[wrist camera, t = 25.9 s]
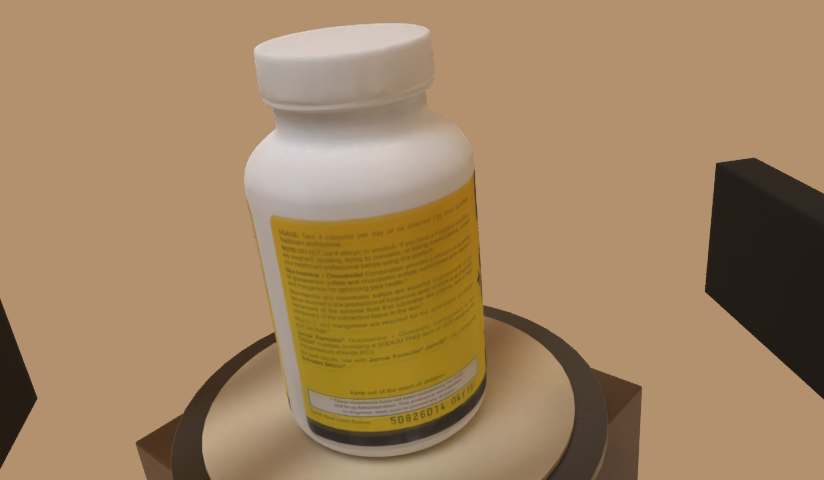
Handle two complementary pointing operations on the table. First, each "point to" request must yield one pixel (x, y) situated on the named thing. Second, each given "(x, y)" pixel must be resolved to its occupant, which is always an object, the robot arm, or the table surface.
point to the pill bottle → (368, 240)
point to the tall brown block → (431, 467)
